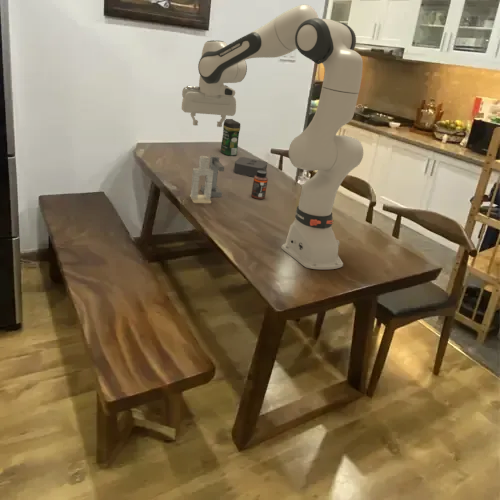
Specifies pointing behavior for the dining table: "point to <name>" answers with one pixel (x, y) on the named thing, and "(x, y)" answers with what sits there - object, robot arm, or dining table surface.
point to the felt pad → (200, 199)
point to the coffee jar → (230, 137)
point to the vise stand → (214, 175)
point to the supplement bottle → (259, 185)
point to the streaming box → (249, 166)
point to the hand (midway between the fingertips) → (207, 125)
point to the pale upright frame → (208, 173)
